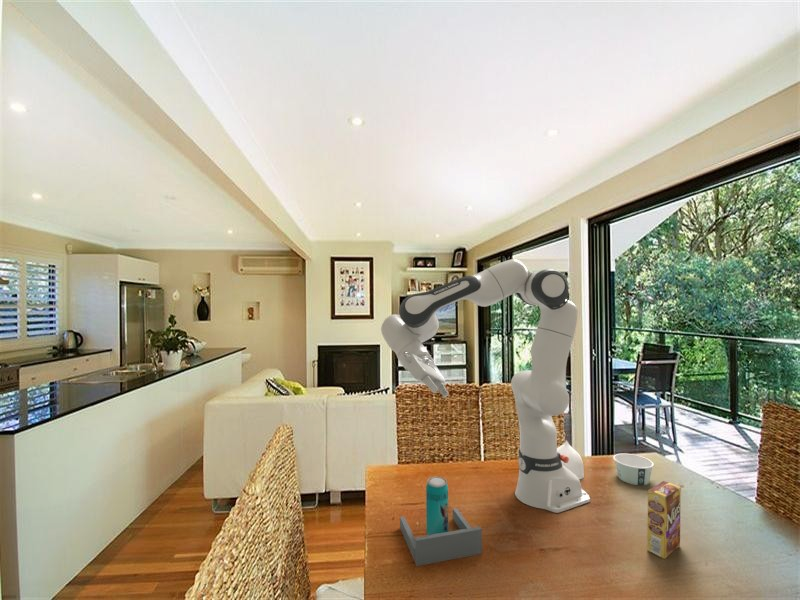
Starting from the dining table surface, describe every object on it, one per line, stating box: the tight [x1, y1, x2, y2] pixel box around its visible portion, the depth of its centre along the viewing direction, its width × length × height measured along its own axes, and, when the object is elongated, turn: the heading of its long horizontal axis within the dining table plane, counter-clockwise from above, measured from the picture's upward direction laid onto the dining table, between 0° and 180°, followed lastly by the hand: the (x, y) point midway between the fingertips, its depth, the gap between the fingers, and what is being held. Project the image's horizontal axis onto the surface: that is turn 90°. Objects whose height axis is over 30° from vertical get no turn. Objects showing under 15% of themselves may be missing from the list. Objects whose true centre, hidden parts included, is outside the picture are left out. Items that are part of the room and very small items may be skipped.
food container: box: [612, 453, 655, 486], centre depth 131 cm, size 12×12×6 cm
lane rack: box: [399, 507, 483, 567], centre depth 98 cm, size 17×16×6 cm
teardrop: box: [557, 439, 585, 480], centre depth 136 cm, size 11×11×12 cm
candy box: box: [646, 480, 682, 560], centre depth 94 cm, size 9×4×15 cm, turn 123°
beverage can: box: [425, 476, 450, 535], centre depth 99 cm, size 6×6×15 cm
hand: (441, 393), depth 109 cm, fingers open, 8 cm apart
